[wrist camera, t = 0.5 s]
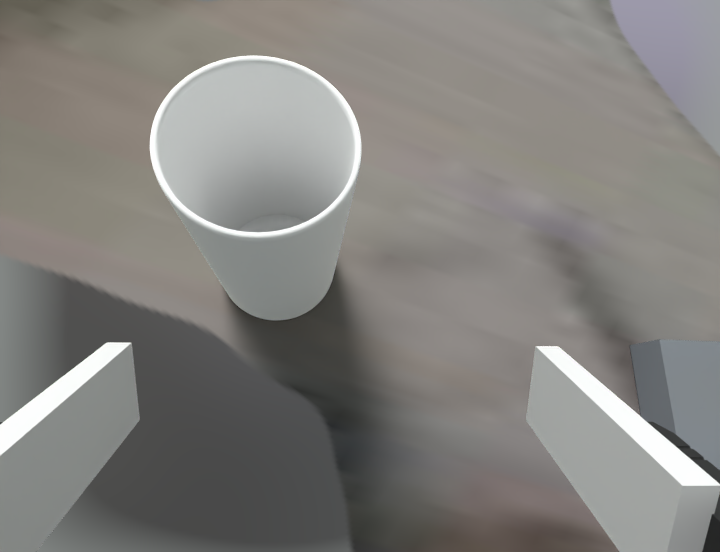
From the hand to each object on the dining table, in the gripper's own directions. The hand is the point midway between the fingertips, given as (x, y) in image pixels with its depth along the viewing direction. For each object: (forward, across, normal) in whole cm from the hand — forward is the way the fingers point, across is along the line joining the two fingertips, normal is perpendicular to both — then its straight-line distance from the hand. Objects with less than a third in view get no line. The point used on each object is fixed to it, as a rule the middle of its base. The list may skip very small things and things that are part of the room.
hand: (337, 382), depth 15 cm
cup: (+19, +4, 0) cm, 20 cm away
